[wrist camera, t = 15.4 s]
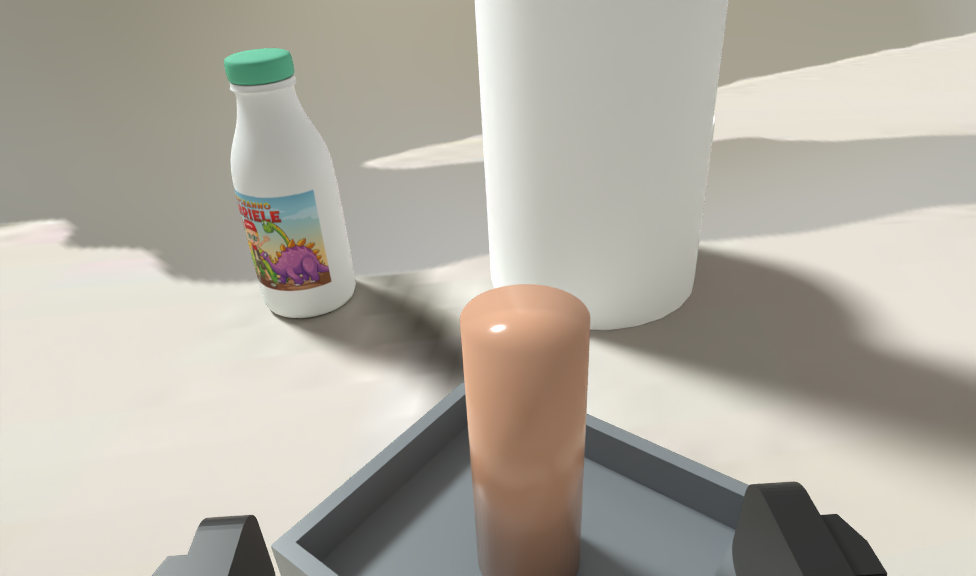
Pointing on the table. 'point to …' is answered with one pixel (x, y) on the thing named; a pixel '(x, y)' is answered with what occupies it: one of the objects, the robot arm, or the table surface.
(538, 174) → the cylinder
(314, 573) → the shallow square tray
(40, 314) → the table surface
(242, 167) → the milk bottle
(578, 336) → the pillar candle
